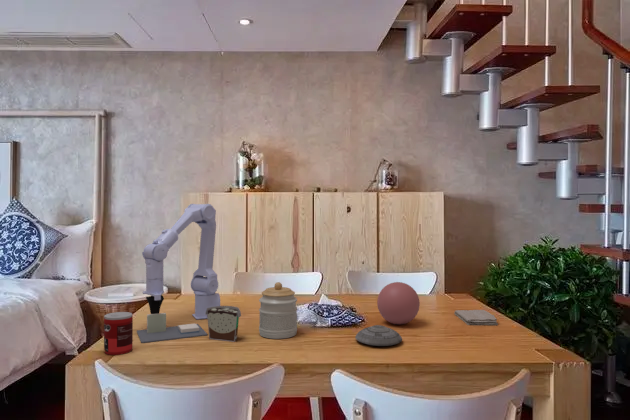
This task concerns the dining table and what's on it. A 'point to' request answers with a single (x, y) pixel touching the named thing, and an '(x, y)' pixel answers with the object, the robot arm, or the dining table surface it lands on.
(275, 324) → the jar
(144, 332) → the mat
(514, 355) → the dining table surface
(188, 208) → the robot arm
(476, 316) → the washcloth
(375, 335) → the flying saucer
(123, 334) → the canned food
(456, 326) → the dining table surface
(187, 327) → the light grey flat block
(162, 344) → the dining table surface
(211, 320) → the food container
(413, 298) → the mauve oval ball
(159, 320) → the tile sage
